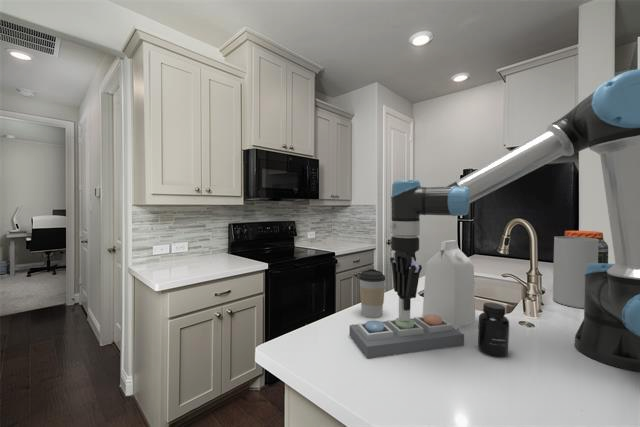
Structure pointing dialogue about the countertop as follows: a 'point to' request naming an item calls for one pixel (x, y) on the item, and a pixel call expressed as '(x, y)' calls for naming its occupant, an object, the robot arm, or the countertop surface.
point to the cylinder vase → (572, 268)
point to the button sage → (404, 324)
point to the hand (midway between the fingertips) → (404, 320)
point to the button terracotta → (433, 320)
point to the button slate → (374, 326)
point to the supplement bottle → (493, 330)
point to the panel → (405, 338)
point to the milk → (450, 286)
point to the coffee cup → (372, 293)
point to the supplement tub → (596, 235)
